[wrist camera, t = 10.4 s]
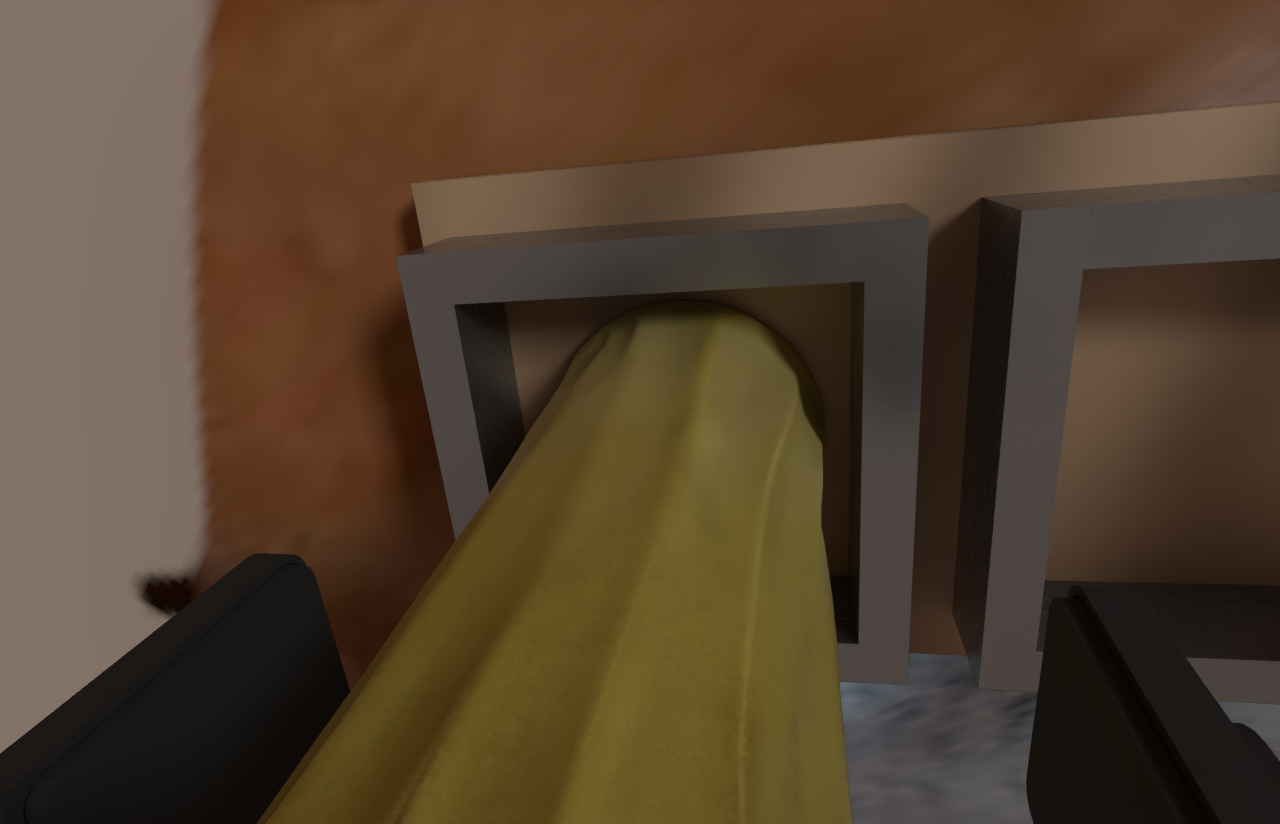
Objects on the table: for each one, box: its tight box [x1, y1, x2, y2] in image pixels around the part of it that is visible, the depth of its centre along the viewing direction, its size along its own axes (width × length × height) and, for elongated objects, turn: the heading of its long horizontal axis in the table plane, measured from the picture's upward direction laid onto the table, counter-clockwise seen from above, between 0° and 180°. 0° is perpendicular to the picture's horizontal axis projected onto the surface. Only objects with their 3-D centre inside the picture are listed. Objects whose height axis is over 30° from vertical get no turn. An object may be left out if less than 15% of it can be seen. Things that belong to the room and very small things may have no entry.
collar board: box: [411, 101, 1280, 655], centre depth 16 cm, size 22×12×1 cm, turn 95°
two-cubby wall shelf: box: [396, 174, 1280, 704], centre depth 14 cm, size 21×10×3 cm, turn 95°
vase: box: [257, 301, 852, 824], centre depth 10 cm, size 6×6×14 cm
